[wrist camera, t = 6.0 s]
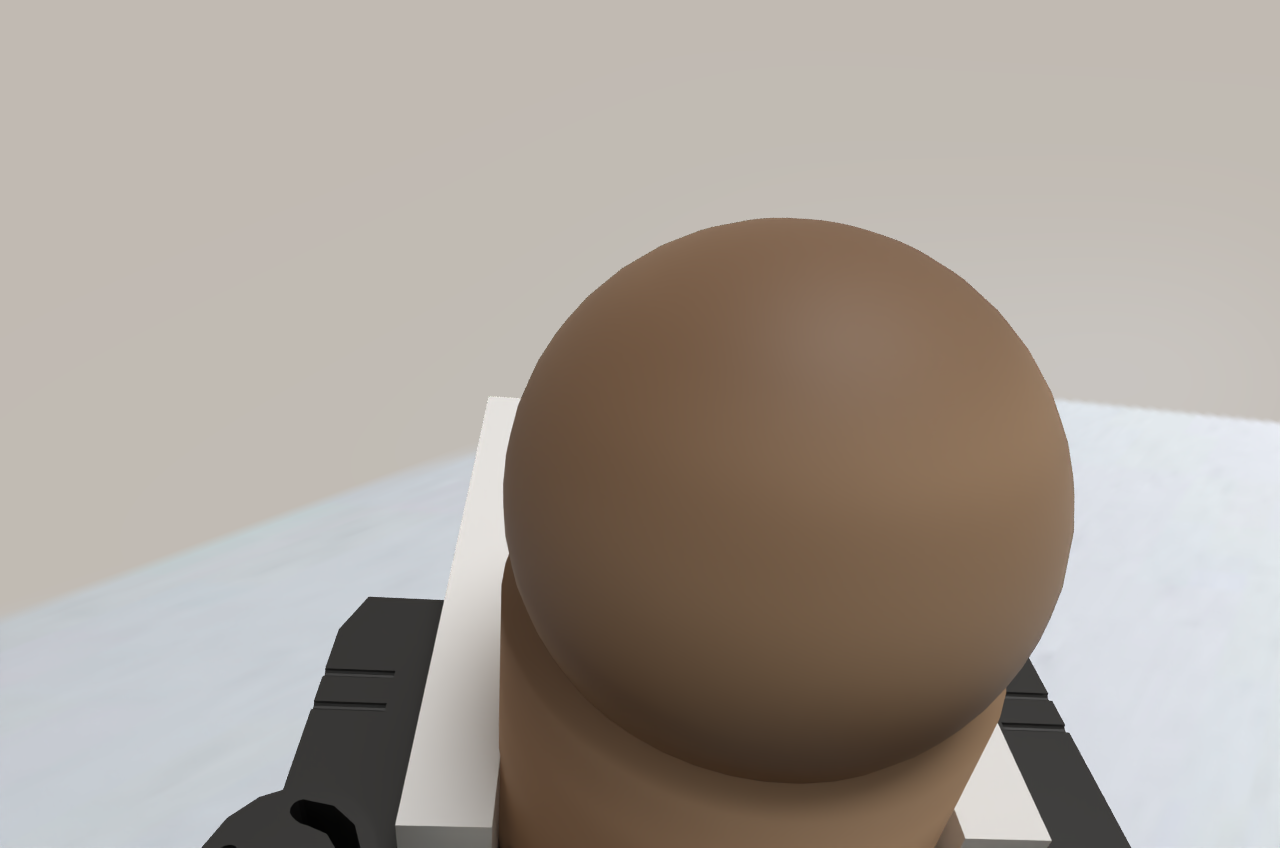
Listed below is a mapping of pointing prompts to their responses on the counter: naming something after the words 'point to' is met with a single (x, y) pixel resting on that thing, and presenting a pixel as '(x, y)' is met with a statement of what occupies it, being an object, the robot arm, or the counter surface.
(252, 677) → the counter surface
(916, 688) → the pawn
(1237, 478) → the counter surface
